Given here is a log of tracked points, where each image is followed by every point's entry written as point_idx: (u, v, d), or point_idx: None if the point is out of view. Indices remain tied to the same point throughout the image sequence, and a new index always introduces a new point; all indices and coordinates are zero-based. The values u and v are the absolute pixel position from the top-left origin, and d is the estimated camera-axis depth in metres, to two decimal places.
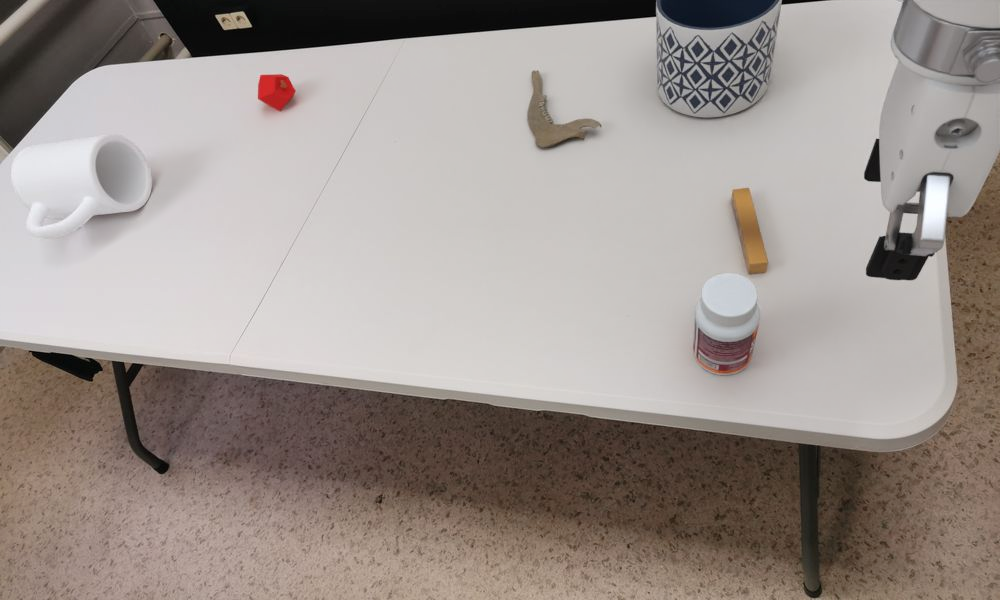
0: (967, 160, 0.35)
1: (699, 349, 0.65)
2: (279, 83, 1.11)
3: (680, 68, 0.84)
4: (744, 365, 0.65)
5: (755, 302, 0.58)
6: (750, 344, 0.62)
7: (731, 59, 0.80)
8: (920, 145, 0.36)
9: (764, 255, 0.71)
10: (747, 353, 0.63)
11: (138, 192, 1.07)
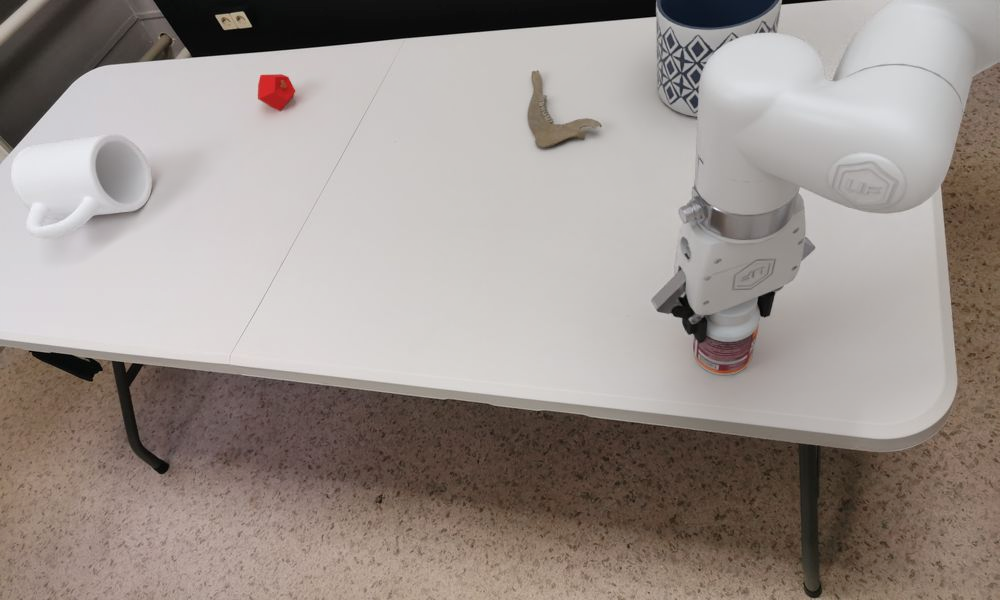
0: (688, 271, 0.52)
1: (699, 349, 0.65)
2: (279, 83, 1.11)
3: (680, 68, 0.84)
4: (744, 365, 0.65)
5: (755, 302, 0.58)
6: (750, 344, 0.62)
7: None
8: (678, 243, 0.53)
9: None
10: (747, 353, 0.63)
11: (138, 192, 1.07)
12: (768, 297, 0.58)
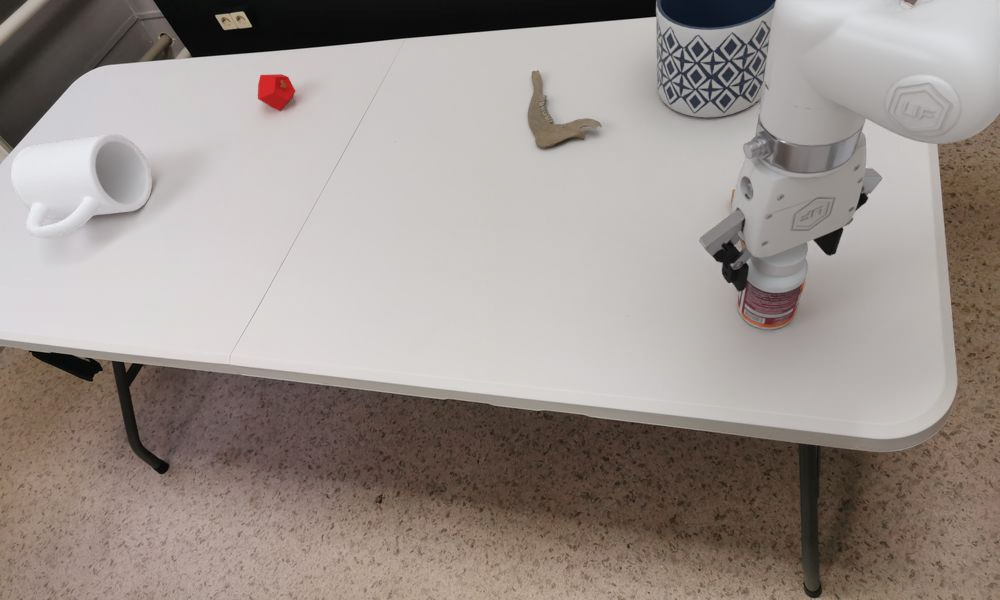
0: (749, 211, 0.53)
1: (745, 303, 0.67)
2: (279, 83, 1.11)
3: (680, 68, 0.84)
4: (789, 319, 0.67)
5: (805, 252, 0.59)
6: (797, 296, 0.64)
7: (731, 59, 0.80)
8: (737, 185, 0.54)
9: None
10: (793, 306, 0.65)
11: (138, 192, 1.07)
12: (836, 232, 0.59)
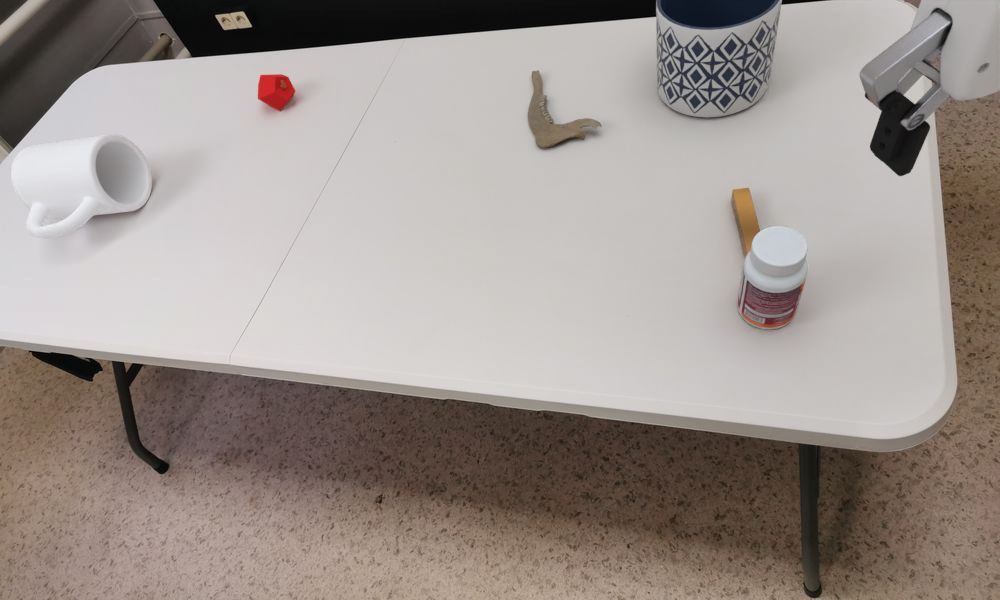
0: (967, 1, 0.30)
1: (745, 303, 0.67)
2: (279, 83, 1.11)
3: (680, 68, 0.84)
4: (789, 319, 0.67)
5: (805, 252, 0.59)
6: (797, 296, 0.64)
7: (731, 59, 0.80)
8: None
9: None
10: (793, 306, 0.65)
11: (138, 192, 1.07)
12: None
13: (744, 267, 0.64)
